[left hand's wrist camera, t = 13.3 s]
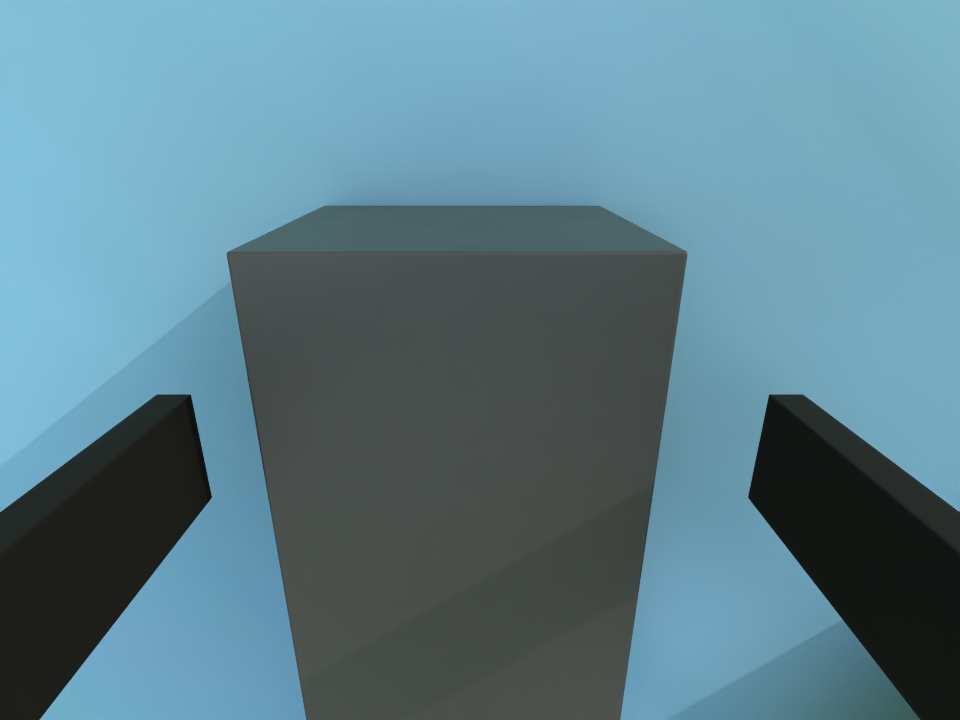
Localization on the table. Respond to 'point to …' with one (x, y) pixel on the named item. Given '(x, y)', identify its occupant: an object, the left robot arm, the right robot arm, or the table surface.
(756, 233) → the table surface
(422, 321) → the wide block
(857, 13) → the table surface
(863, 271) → the table surface
